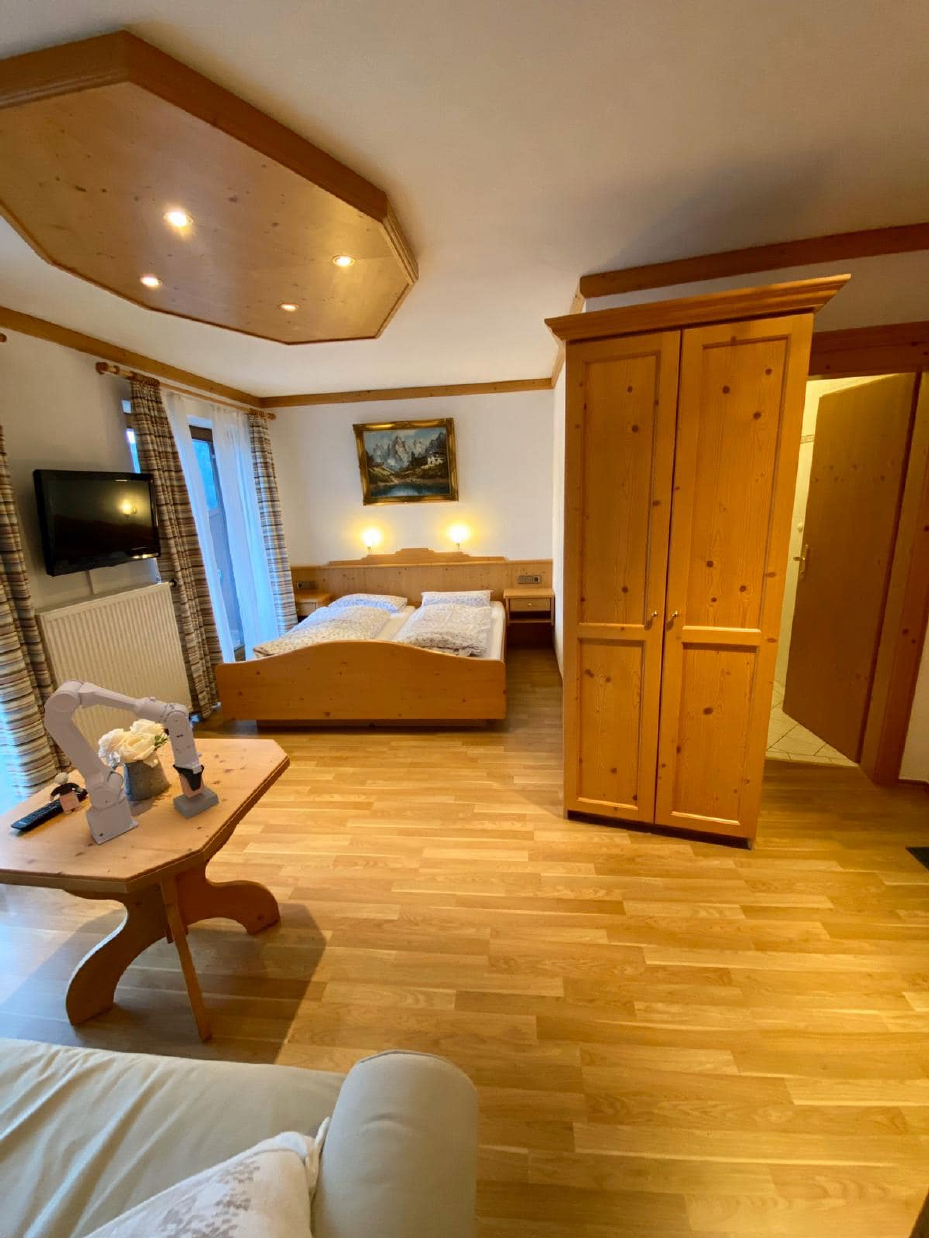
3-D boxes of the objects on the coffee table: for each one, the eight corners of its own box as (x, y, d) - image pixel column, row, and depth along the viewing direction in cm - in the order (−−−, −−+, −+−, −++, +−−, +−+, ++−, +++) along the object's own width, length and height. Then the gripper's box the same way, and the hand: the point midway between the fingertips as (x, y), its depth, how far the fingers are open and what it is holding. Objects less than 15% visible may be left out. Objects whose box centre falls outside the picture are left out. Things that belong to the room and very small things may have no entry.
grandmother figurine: (85, 801, 147) (74, 765, 144) (88, 806, 144) (77, 769, 141) (53, 815, 141) (41, 777, 138) (56, 820, 139) (44, 782, 135)
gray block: (187, 818, 136) (185, 809, 135) (174, 807, 141) (172, 798, 141) (219, 802, 143) (217, 794, 142) (205, 792, 148) (204, 784, 147)
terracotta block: (189, 797, 138) (184, 779, 136) (182, 792, 141) (178, 774, 139) (205, 790, 141) (201, 772, 140) (198, 784, 144) (194, 767, 142)
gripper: (208, 746, 135) (217, 787, 139) (187, 732, 144) (196, 772, 148) (182, 757, 130) (192, 800, 134) (162, 742, 139) (172, 783, 143)
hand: (192, 786), depth 140 cm, fingers closed on terracotta block, 4 cm apart
